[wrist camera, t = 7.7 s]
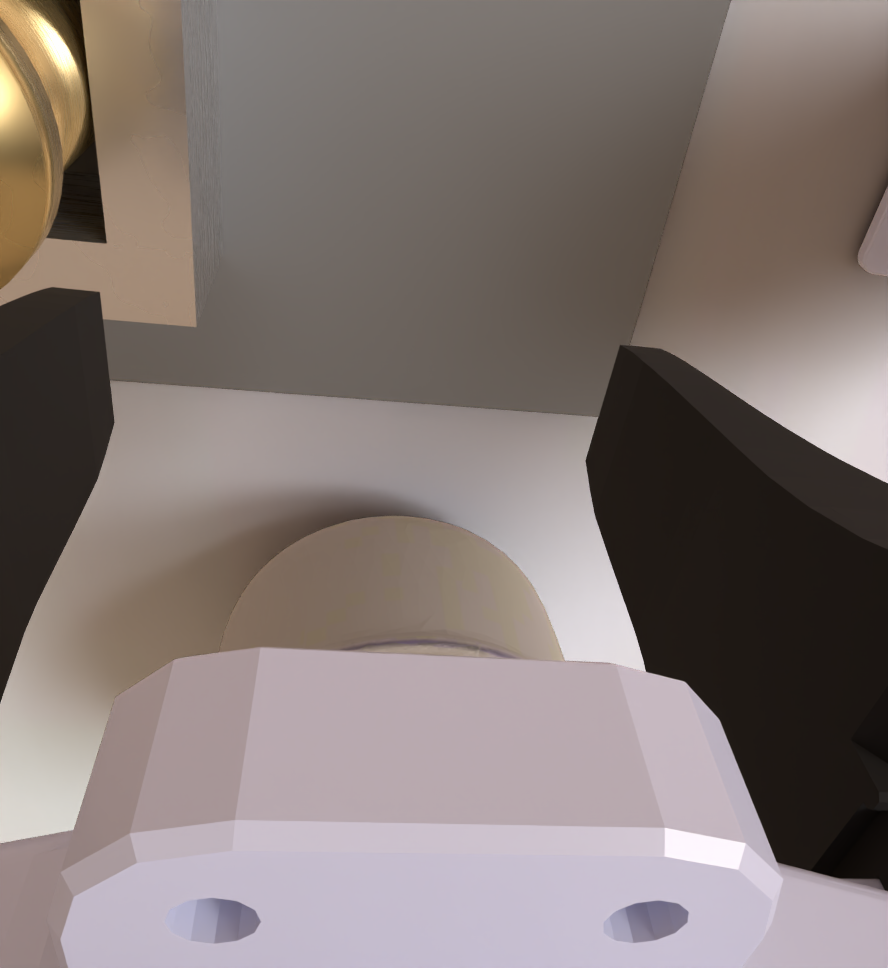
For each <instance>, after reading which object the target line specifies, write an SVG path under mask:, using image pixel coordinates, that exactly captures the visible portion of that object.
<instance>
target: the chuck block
mask: <svg viewBox="0 0 888 968" xmlns="http://www.w3.org/2000/svg"><path fill="white" fill-rule="evenodd" d="M80 5H81V14H82V23H83V32H84V41H85V50H86V59H87V68H88V77H89V86H90V95H91V105H92V114H93V123H94V132H95V141H96V150H97V159H98V168H99V175H94V174H85V173H76V172H67V171H64V172H63V183H62V195H61V199H60V203H59V207H58V211H57V215H56V217H55V220H54V222H53V225H52V227H51V229H50V232H49V234H48V235H47V237H46V238H45V240H44V241H43V243H42V245H41V246H40V248H39V249H38V250H37V251H36V253H35V254H34V255H33V256H32V257H31V258H30V259H29V261H28V262H27V263H26V264H25V265H24V266H23V268H22V269H21V270H20V271H19V272H18V273H17V274H16V275H15V276H14V278H13V279H12V280H11V281H10V282H9V283H8V284H7V285H5V286H4V287H3V288H2V289H0V306H1V305H3V304H6V303H8V302H10V301H13V300H15V299H17V298H20V297H22V296H25V295H27V294H30V293H33V292H36V291H39V290H42V289H46V288H50V287H57V288H67V289H76V290H86V291H96V292H100V297H101V306H102V315H103V319H107V320H118V321H130V322H142V323H154V324H165V325H177V326H189V327H197V324H198V322H199V319H200V316H201V313H202V311H203V308H204V305H205V302H206V300H207V297H208V294H209V291H210V289H211V286H212V283H213V281H214V278H215V275H216V272H217V270H218V267H219V264H220V261H221V259H222V256H223V230H222V192H221V153H220V114H219V75H218V36H217V0H80Z"/></svg>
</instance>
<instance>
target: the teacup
mask: <svg viewBox="0 0 888 968" xmlns="http://www.w3.org/2000/svg"><path fill="white" fill-rule="evenodd" d="M255 647H281V648H303V649H324V650H346V651H367V652H388V653H410V654H431V655H453V656H474V657H495V658H517V659H538V660H560V661H565V660H564V657H563V654H562V651H561V648H560V646H559V643H558V640H557V637H556V635H555V632H554V630H553V627H552V625H551V622H550V620H549V617H548V615H547V613H546V610H545V608H544V606H543V604H542V602H541V600H540V598H539V596H538V595H537V593H536V591H535V589H534V587H533V586H532V584H531V583H530V581H529V580H528V578H527V577H526V576H525V575H524V573H523V572H522V571H521V570H520V569H519V567H518V566H517V565H516V564H515V563H514V562H513V561H512V560H511V559H510V558H509V557H508V556H507V555H506V554H505V553H503V552H502V551H501V550H499V549H498V548H496V547H495V546H494V545H492V544H491V543H489V542H488V541H487V540H485V539H483V538H481V537H479V536H477V535H475V534H473V533H471V532H469V531H467V530H465V529H463V528H460V527H457V526H454V525H451V524H448V523H444V522H440V521H436V520H432V519H427V518H419V517H411V516H379V517H367V518H361V519H356V520H350V521H346V522H343V523H339V524H336V525H333V526H330V527H327V528H324V529H321V530H319V531H317V532H314V533H312V534H310V535H307V536H306V537H304V538H302V539H300V540H299V541H297V542H295V543H293V544H292V545H290V546H288V547H287V548H286V549H284V550H283V551H282V552H280V553H279V554H278V555H276V556H275V557H274V558H273V559H272V560H270V561H269V562H268V563H267V564H266V565H265V566H264V567H263V568H262V569H261V570H260V571H259V572H258V573H257V574H256V575H255V577H254V578H253V579H252V580H251V581H250V583H249V584H248V586H247V587H246V588H245V590H244V591H243V593H242V595H241V596H240V598H239V600H238V602H237V603H236V605H235V607H234V609H233V611H232V613H231V615H230V618H229V621H228V623H227V626H226V629H225V632H224V634H223V638H222V641H221V645H220V649H219V652H225V651H233V650H240V649H248V648H255Z"/></svg>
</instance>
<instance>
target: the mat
mask: <svg viewBox="0 0 888 968" xmlns="http://www.w3.org/2000/svg"><path fill="white" fill-rule="evenodd" d="M730 2H731V0H217V36H218V75H219V114H220V153H221V192H222V230H223V256H222V259H221V261H220V264H219V267H218V270H217V272H216V275H215V278H214V281H213V283H212V286H211V289H210V291H209V294H208V297H207V300H206V302H205V305H204V308H203V311H202V313H201V316H200V319H199V322H198V324H197V327H189V326H177V325H165V324H154V323H142V322H130V321H118V320H107V319H103V324H104V333H105V342H106V351H107V360H108V369H109V378H110V380H115V381H128V382H142V383H155V384H168V385H182V386H195V387H208V388H222V389H235V390H248V391H262V392H275V393H288V394H302V395H315V396H328V397H342V398H355V399H368V400H382V401H395V402H408V403H422V404H435V405H448V406H462V407H475V408H488V409H502V410H515V411H528V412H542V413H555V414H568V415H582V416H595V417H599V414H600V410H601V407H602V404H603V400H604V397H605V394H606V390H607V387H608V384H609V380H610V377H611V373H612V370H613V367H614V363H615V360H616V357H617V353H618V350H619V346H620V345H627V346H629V345H630V342H631V339H632V335H633V332H634V328H635V325H636V322H637V318H638V315H639V311H640V308H641V305H642V301H643V298H644V294H645V291H646V288H647V284H648V281H649V277H650V274H651V271H652V267H653V264H654V260H655V257H656V254H657V250H658V247H659V243H660V240H661V237H662V233H663V230H664V226H665V223H666V220H667V216H668V213H669V209H670V206H671V203H672V199H673V196H674V192H675V189H676V186H677V182H678V179H679V175H680V172H681V169H682V165H683V162H684V158H685V155H686V152H687V148H688V145H689V141H690V138H691V135H692V131H693V128H694V124H695V121H696V118H697V114H698V111H699V107H700V104H701V101H702V97H703V94H704V90H705V87H706V84H707V80H708V77H709V73H710V70H711V67H712V63H713V60H714V56H715V53H716V50H717V46H718V43H719V39H720V36H721V33H722V29H723V26H724V22H725V19H726V16H727V12H728V9H729V5H730ZM65 171H67V172H76V173H85V174H94V175H99V168H98V159H97V150H96V141H94V142H93V143H92V144H91V145H90V146H89V147H88V148H87V149H86V150H85V151H84V152H83V153H82V154H81V155H80V156H79V157H78V158H77V159H76V160H75V161H74V162H73V163H72V164H71V165H70V166H69V167H68V168H67V169H66V170H65Z"/></svg>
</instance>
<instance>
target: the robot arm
mask: <svg viewBox="0 0 888 968" xmlns="http://www.w3.org/2000/svg"><path fill="white" fill-rule="evenodd" d="M857 258H858V263H859V265H860V266H861V267H862V268H863V269H864V270H865V271H867V272H868V273H871V274H873V275H882V276H888V186H887V189H886V191H885V193H884V195H883V198H882V200H881V202H880V204H879V207H878V209H877V211H876V213H875V216H874V218H873V220H872V223H871V225H870V227H869V229H868V232H867V234H866V236H865V238H864V241H863V243H862V245H861V247H860V250H859V253H858V257H857ZM113 425H114V414H113V405H112V396H111V387H110V378H109V369H108V360H107V351H106V342H105V333H104V324H103V315H102V306H101V297H100V292H96V291H86V290H76V289H67V288H57V287H50V288H46V289H42V290H39V291H36V292H33V293H30V294H27V295H25V296H22V297H20V298H17V299H15V300H13V301H10V302H8V303H6V304H3V305H1V306H0V702H1V699H2V696H3V693H4V690H5V687H6V684H7V681H8V679H9V676H10V673H11V670H12V667H13V664H14V661H15V658H16V655H17V653H18V650H19V647H20V644H21V641H22V638H23V635H24V632H25V630H26V627H27V625H28V623H29V620H30V618H31V616H32V613H33V611H34V609H35V606H36V604H37V602H38V600H39V598H40V596H41V594H42V592H43V590H44V588H45V586H46V584H47V582H48V580H49V578H50V575H51V573H52V571H53V569H54V567H55V565H56V563H57V561H58V559H59V557H60V555H61V553H62V551H63V549H64V547H65V545H66V543H67V541H68V539H69V537H70V535H71V533H72V531H73V529H74V527H75V525H76V523H77V521H78V519H79V517H80V515H81V513H82V511H83V509H84V506H85V504H86V502H87V500H88V498H89V496H90V494H91V492H92V490H93V488H94V485H95V483H96V481H97V479H98V476H99V473H100V470H101V466H102V463H103V460H104V457H105V454H106V450H107V447H108V443H109V440H110V436H111V433H112V429H113ZM586 466H587V473H588V479H589V486H590V492H591V497H592V502H593V507H594V513H595V517H596V520H597V523H598V526H599V529H600V532H601V535H602V538H603V541H604V544H605V547H606V550H607V553H608V556H609V559H610V562H611V564H612V567H613V570H614V573H615V576H616V579H617V582H618V584H619V587H620V590H621V593H622V596H623V599H624V602H625V604H626V607H627V610H628V613H629V616H630V619H631V622H632V624H633V627H634V630H635V633H636V636H637V640H638V643H639V647H640V650H641V654H642V657H643V661H644V665H645V670H646V672H644V671H640V670H636V669H632V668H628V667H624V666H620V665H616V664H612V663H602V662H581V661H560V660H538V659H517V658H495V657H474V656H453V655H431V654H410V653H388V652H367V651H346V650H324V649H303V648H281V647H255V648H248V649H240V650H233V651H225V652H218V653H210V654H203V655H195V656H187V657H183V658H178V659H174V660H172V661H171V662H169V663H168V664H166V665H165V666H163V667H161V668H160V669H158V670H157V671H155V672H154V673H152V674H150V675H149V676H147V677H146V678H144V679H143V680H141V681H139V682H138V683H136V684H135V685H133V686H132V687H130V688H129V689H127V690H125V691H124V692H122V693H121V694H119V695H118V696H116V697H115V700H114V703H113V706H112V710H111V713H110V716H109V719H108V722H107V725H106V729H105V732H104V735H103V738H102V741H101V745H100V748H99V751H98V754H97V757H96V760H95V764H94V767H93V770H92V773H91V776H90V780H89V783H88V786H87V789H86V792H85V795H84V799H83V802H82V805H81V808H80V811H79V815H78V818H77V821H76V824H75V827H74V830H71V831H66V832H60V833H55V834H49V835H44V836H38V837H33V838H27V839H22V840H16V841H11V842H5V843H0V968H888V483H886V482H883V481H881V480H879V479H877V478H875V477H873V476H871V475H869V474H867V473H865V472H863V471H861V470H859V469H857V468H855V467H853V466H851V465H849V464H847V463H845V462H843V461H842V460H840V459H838V458H836V457H834V456H832V455H831V454H829V453H827V452H825V451H823V450H822V449H820V448H818V447H816V446H815V445H813V444H811V443H810V442H808V441H806V440H805V439H803V438H801V437H800V436H798V435H796V434H795V433H793V432H791V431H790V430H788V429H786V428H785V427H783V426H782V425H780V424H778V423H777V422H775V421H774V420H772V419H771V418H769V417H767V416H766V415H764V414H763V413H761V412H760V411H758V410H757V409H755V408H754V407H752V406H751V405H749V404H748V403H746V402H745V401H743V400H742V399H740V398H739V397H737V396H736V395H734V394H733V393H731V392H730V391H728V390H727V389H725V388H724V387H723V386H721V385H720V384H718V383H717V382H715V381H714V380H712V379H711V378H709V377H708V376H706V375H705V374H703V373H702V372H700V371H699V370H697V369H696V368H694V367H693V366H691V365H689V364H688V363H686V362H685V361H683V360H681V359H680V358H678V357H676V356H674V355H672V354H671V353H668V352H666V351H664V350H662V349H657V348H647V347H637V346H627V345H620V346H619V350H618V353H617V357H616V360H615V363H614V367H613V370H612V373H611V377H610V380H609V384H608V387H607V390H606V394H605V397H604V400H603V404H602V407H601V410H600V414H599V417H598V421H597V424H596V427H595V431H594V434H593V437H592V441H591V444H590V448H589V451H588V454H587V458H586Z"/></svg>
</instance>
